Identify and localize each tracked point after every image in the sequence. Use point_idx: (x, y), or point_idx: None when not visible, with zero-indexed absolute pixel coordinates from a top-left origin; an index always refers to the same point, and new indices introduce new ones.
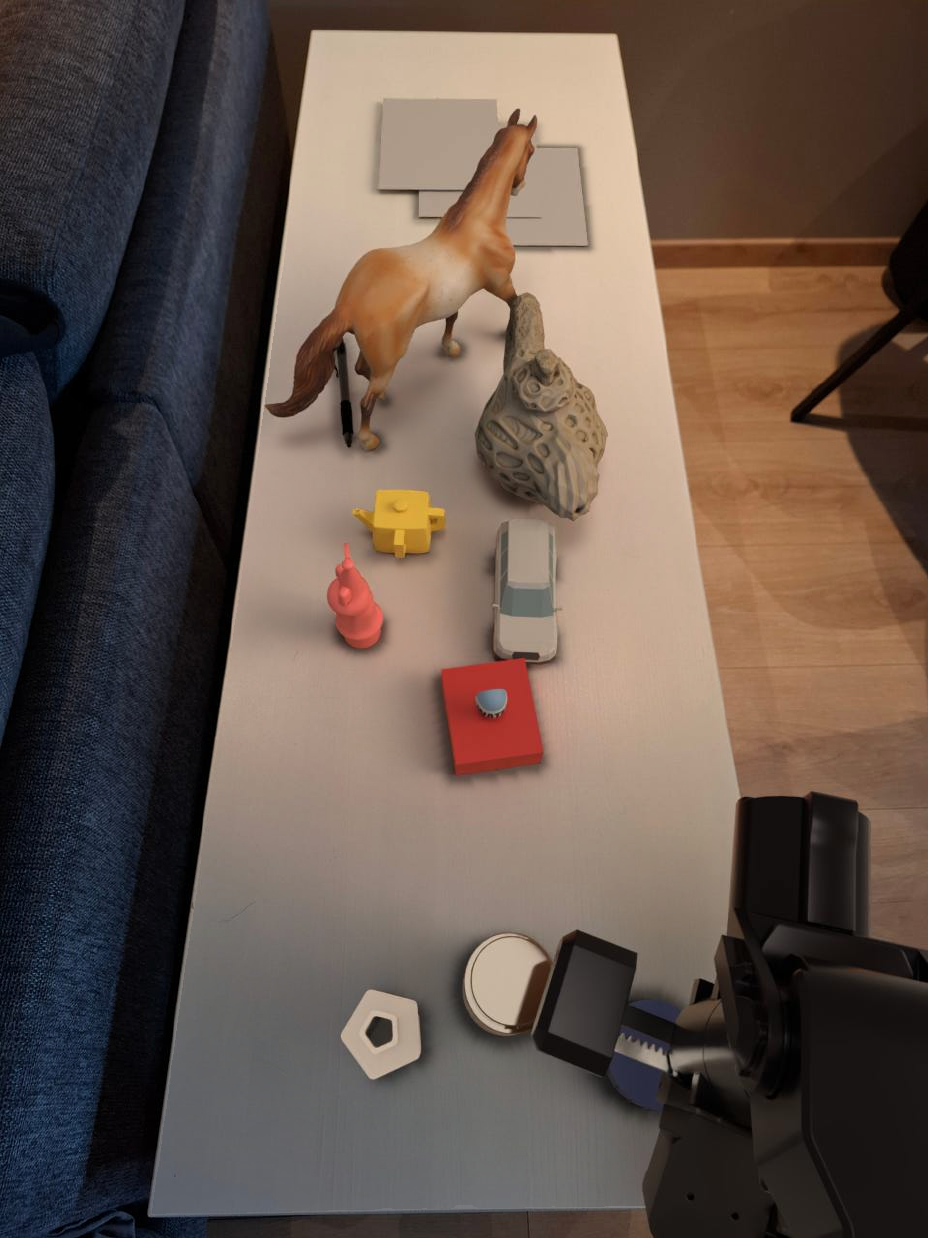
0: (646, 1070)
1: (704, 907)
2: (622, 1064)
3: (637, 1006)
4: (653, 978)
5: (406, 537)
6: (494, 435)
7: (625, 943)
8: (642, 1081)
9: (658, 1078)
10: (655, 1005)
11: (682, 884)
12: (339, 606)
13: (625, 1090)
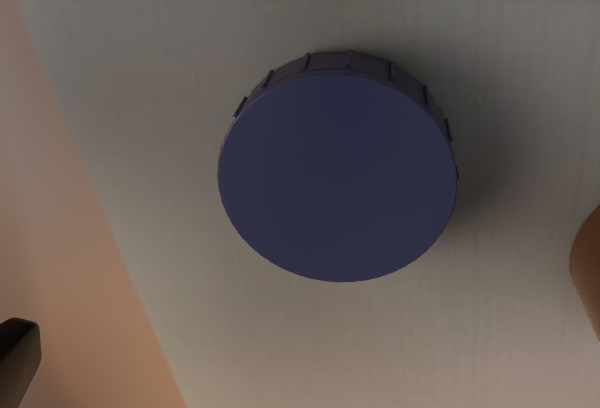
0: (356, 155)
1: (245, 374)
2: (417, 163)
3: (377, 270)
4: None
5: None
6: None
7: (390, 327)
8: (366, 132)
9: (326, 141)
10: (336, 272)
11: (286, 400)
12: None
13: (412, 110)
